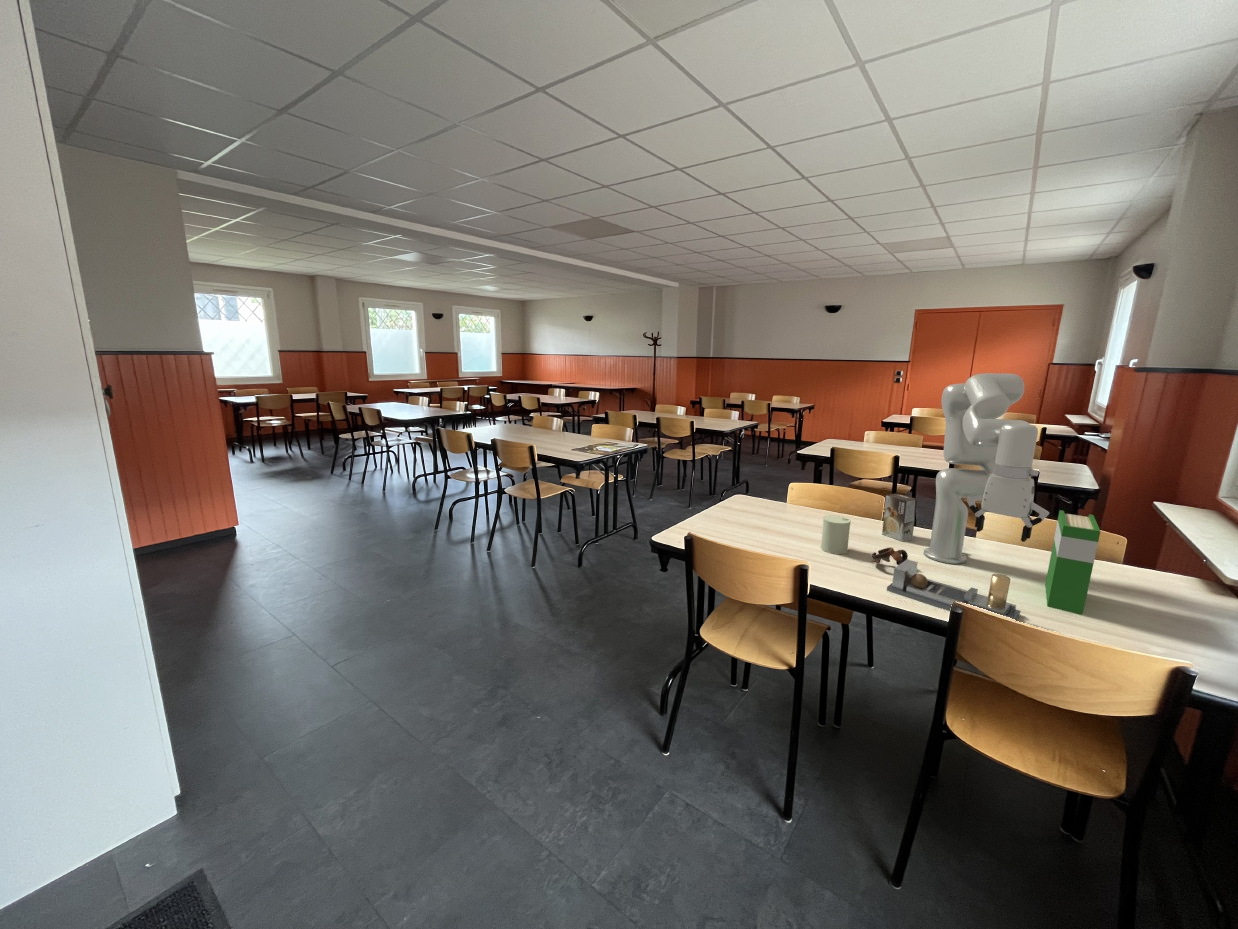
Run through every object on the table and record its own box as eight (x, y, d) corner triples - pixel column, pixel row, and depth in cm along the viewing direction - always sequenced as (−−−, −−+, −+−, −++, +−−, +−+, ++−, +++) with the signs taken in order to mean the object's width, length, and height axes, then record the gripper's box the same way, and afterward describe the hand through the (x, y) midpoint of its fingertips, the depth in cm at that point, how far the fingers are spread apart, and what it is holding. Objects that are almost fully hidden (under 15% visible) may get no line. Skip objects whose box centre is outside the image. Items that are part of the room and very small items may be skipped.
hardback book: (1045, 584, 156) (1059, 510, 151) (1077, 591, 152) (1093, 514, 147) (1047, 606, 143) (1063, 525, 137) (1082, 614, 138) (1100, 531, 133)
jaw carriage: (970, 598, 144) (975, 565, 142) (1009, 610, 138) (1015, 576, 135) (962, 606, 140) (967, 572, 137) (1002, 619, 133) (1009, 584, 131)
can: (852, 554, 179) (855, 522, 177) (826, 554, 180) (829, 521, 177) (841, 544, 188) (844, 514, 186) (816, 544, 189) (819, 513, 186)
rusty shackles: (894, 579, 161) (882, 555, 162) (873, 580, 170) (861, 557, 171) (920, 564, 165) (909, 541, 166) (898, 566, 173) (887, 543, 175)
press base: (902, 578, 160) (904, 557, 158) (1019, 614, 138) (1024, 590, 136) (886, 590, 152) (889, 568, 151) (1008, 630, 130) (1013, 604, 129)
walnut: (912, 583, 154) (914, 570, 153) (928, 588, 151) (930, 574, 150) (907, 587, 151) (909, 574, 150) (923, 592, 148) (925, 579, 147)
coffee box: (913, 539, 194) (918, 499, 191) (902, 541, 191) (907, 501, 188) (891, 531, 202) (896, 493, 199) (880, 534, 200) (885, 494, 196)
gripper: (1058, 475, 125) (1046, 541, 129) (976, 464, 138) (967, 524, 142) (1052, 480, 120) (1039, 548, 124) (967, 468, 133) (958, 530, 137)
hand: (1001, 535), depth 133 cm, fingers open, 9 cm apart
